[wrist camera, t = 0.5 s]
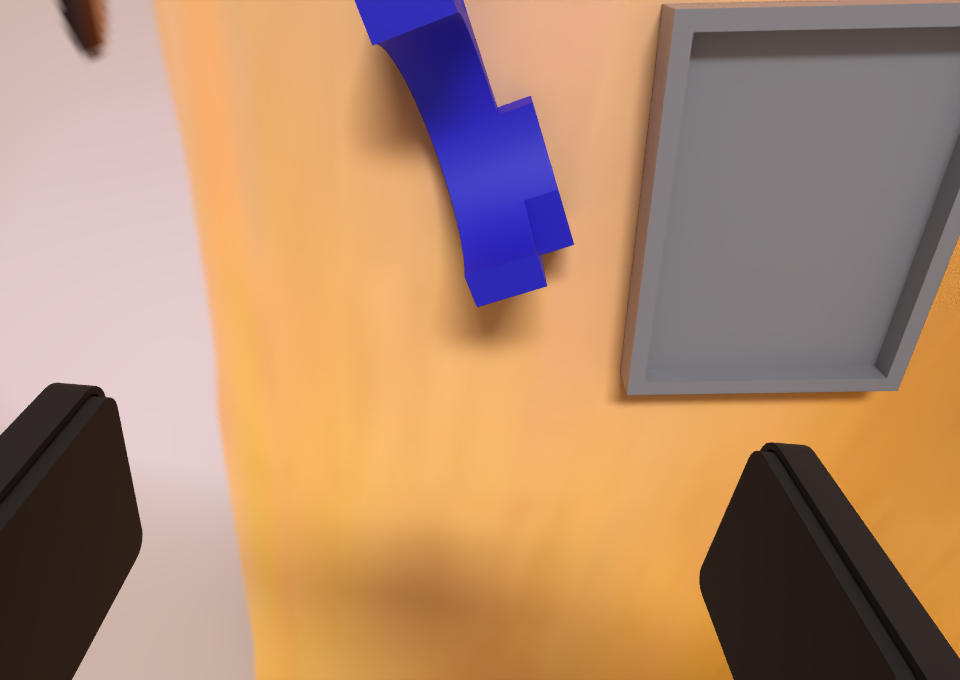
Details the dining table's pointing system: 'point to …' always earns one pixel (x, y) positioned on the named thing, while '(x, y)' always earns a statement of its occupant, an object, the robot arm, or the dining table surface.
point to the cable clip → (476, 146)
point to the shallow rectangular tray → (794, 195)
